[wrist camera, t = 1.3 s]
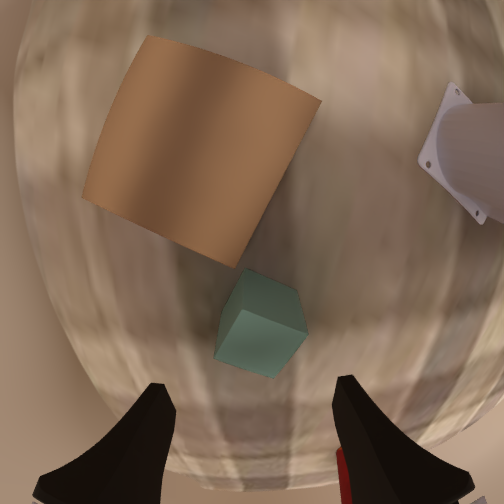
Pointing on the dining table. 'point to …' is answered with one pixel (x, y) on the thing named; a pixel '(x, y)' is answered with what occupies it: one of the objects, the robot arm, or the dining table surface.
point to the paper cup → (343, 478)
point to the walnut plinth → (196, 146)
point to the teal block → (260, 325)
